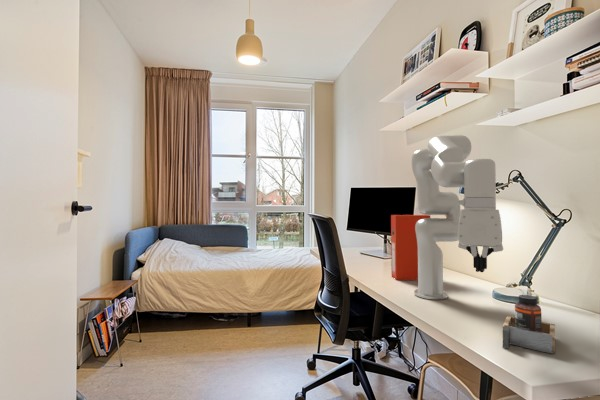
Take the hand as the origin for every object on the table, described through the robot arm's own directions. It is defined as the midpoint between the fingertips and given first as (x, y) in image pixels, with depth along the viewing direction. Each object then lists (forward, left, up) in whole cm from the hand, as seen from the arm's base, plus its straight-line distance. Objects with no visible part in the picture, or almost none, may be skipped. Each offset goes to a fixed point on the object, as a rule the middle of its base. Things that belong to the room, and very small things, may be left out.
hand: (480, 271), depth 86 cm
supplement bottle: (-9, +10, -19) cm, 23 cm away
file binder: (-61, -41, -19) cm, 76 cm away
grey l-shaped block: (-1, +10, -19) cm, 21 cm away
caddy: (-9, +10, -19) cm, 23 cm away
